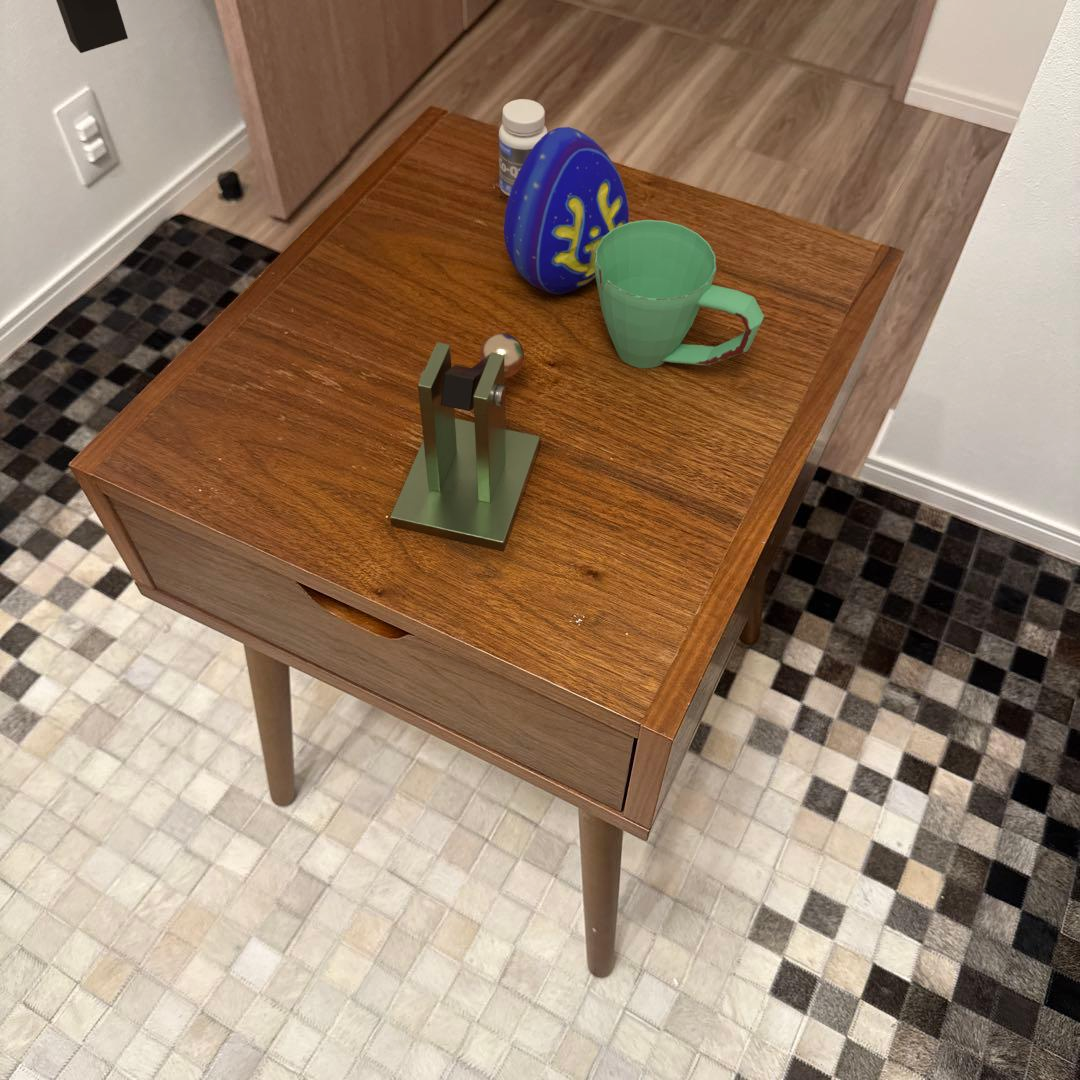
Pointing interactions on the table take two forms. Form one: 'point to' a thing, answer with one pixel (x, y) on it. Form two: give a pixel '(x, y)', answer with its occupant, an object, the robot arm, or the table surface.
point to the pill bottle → (518, 138)
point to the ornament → (562, 210)
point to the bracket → (466, 462)
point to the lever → (480, 371)
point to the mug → (665, 294)
